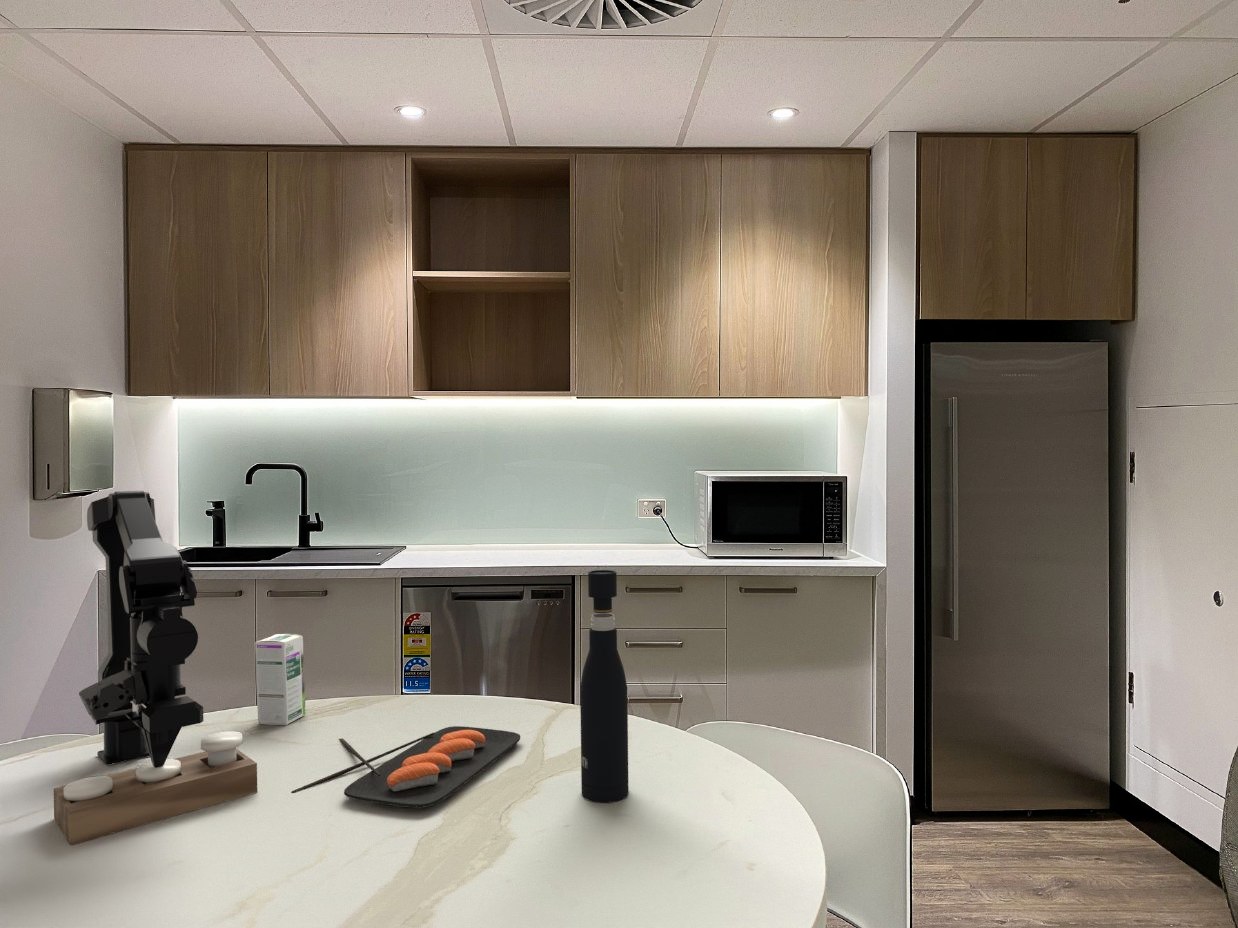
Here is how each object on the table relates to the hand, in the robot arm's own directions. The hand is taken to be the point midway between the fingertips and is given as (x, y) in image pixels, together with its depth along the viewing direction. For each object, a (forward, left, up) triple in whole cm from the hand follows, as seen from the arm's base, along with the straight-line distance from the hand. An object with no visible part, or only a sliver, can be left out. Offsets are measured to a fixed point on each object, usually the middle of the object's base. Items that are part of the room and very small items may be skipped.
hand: (158, 766), depth 111 cm
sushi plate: (+9, +29, -6) cm, 31 cm away
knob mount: (0, 0, -5) cm, 5 cm away
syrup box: (-24, +26, -5) cm, 35 cm away
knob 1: (0, -8, -5) cm, 9 cm away
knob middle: (0, 0, -5) cm, 5 cm away
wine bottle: (+39, +45, -5) cm, 59 cm away
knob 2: (0, +8, -3) cm, 8 cm away
